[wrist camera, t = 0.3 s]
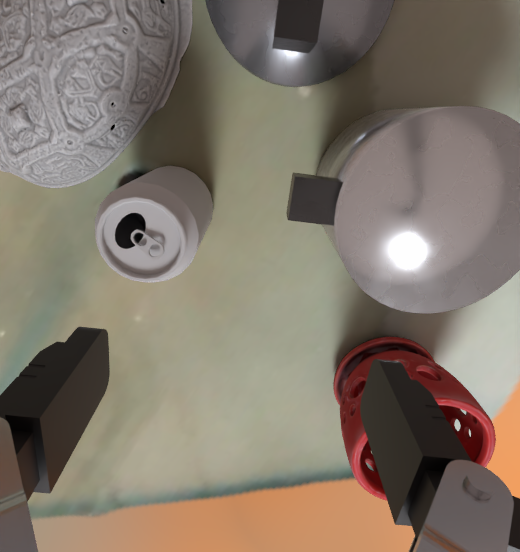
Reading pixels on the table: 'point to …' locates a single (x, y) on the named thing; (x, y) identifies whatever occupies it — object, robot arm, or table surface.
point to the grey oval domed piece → (83, 81)
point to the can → (154, 224)
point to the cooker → (420, 204)
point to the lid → (298, 36)
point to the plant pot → (418, 368)
